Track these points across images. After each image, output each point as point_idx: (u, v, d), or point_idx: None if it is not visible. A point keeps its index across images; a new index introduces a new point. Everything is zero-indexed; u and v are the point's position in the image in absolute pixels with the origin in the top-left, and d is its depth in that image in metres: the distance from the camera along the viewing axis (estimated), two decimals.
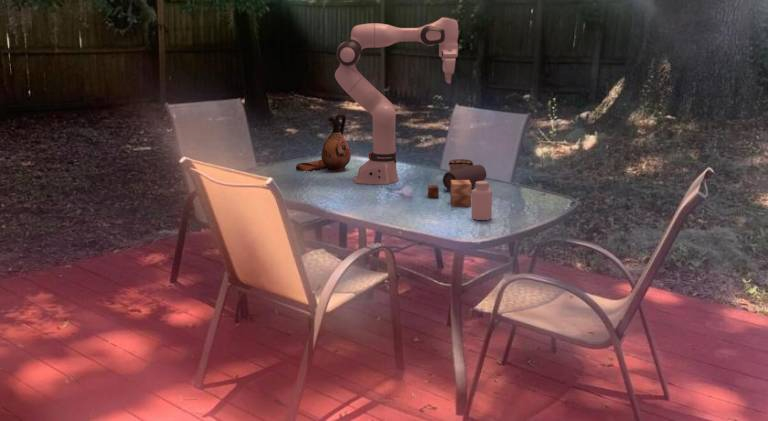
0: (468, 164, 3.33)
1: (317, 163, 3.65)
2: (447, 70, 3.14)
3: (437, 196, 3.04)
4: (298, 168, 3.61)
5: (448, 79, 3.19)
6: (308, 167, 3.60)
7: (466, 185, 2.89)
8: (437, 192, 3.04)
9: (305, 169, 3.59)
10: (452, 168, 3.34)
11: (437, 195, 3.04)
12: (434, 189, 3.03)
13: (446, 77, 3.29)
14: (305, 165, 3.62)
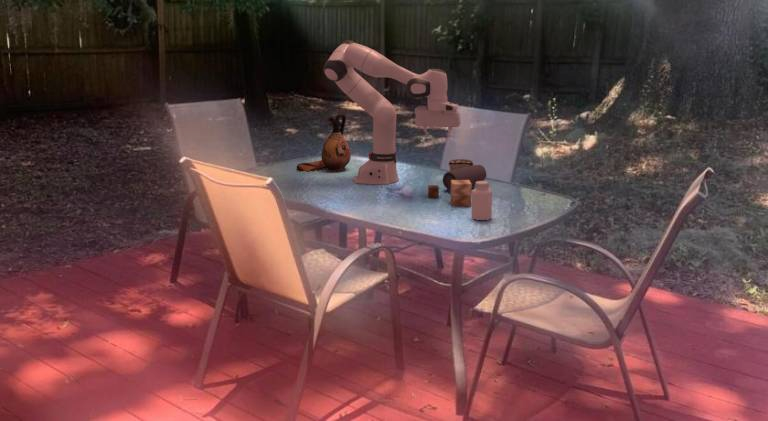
0: (468, 164, 3.33)
1: (318, 163, 3.64)
2: (459, 123, 3.01)
3: (437, 196, 3.04)
4: (299, 168, 3.60)
5: (449, 132, 3.04)
6: (308, 168, 3.59)
7: (466, 185, 2.89)
8: (437, 192, 3.04)
9: (305, 169, 3.58)
10: (452, 168, 3.34)
11: (437, 195, 3.04)
12: (434, 189, 3.03)
13: (426, 132, 3.07)
14: (306, 165, 3.61)
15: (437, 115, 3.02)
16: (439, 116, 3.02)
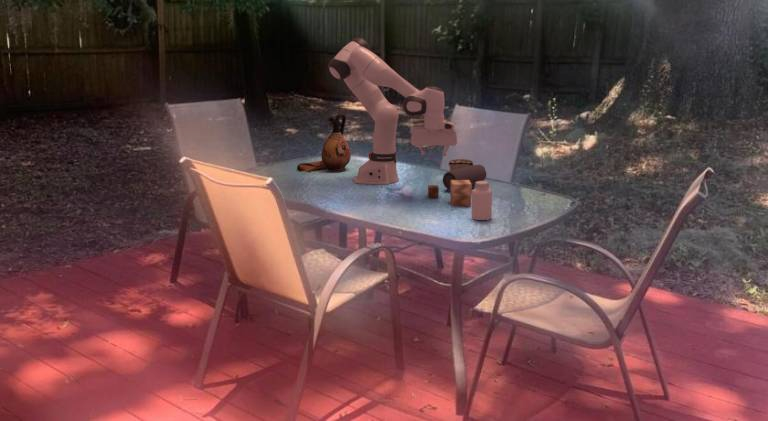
0: (468, 164, 3.33)
1: (318, 163, 3.64)
2: (456, 141, 2.98)
3: (437, 196, 3.04)
4: (299, 168, 3.60)
5: (446, 151, 3.01)
6: (308, 168, 3.59)
7: (466, 185, 2.89)
8: (437, 192, 3.04)
9: (306, 169, 3.58)
10: (452, 168, 3.34)
11: (437, 195, 3.04)
12: (434, 189, 3.03)
13: (422, 151, 3.01)
14: (306, 165, 3.61)
15: (435, 134, 2.97)
16: (437, 134, 2.97)
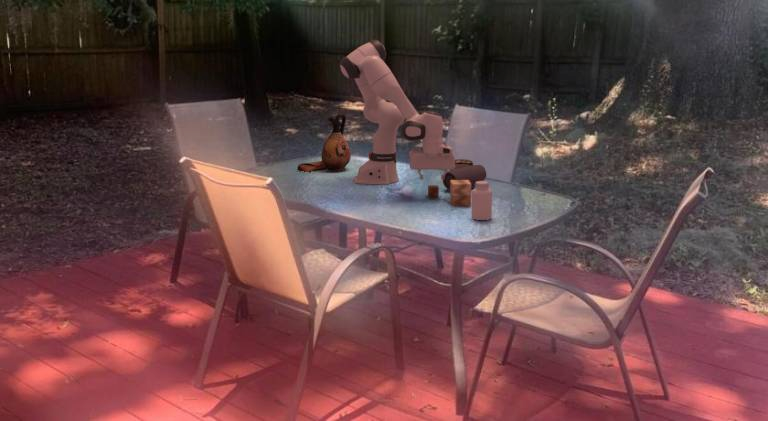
0: (468, 164, 3.33)
1: (319, 164, 3.63)
2: None
3: (437, 196, 3.04)
4: (299, 168, 3.60)
5: None
6: (309, 168, 3.59)
7: (466, 185, 2.89)
8: (437, 192, 3.04)
9: (306, 169, 3.57)
10: None
11: (437, 195, 3.04)
12: (434, 189, 3.03)
13: (421, 175, 3.03)
14: (306, 165, 3.60)
15: (433, 158, 3.00)
16: (435, 159, 3.00)
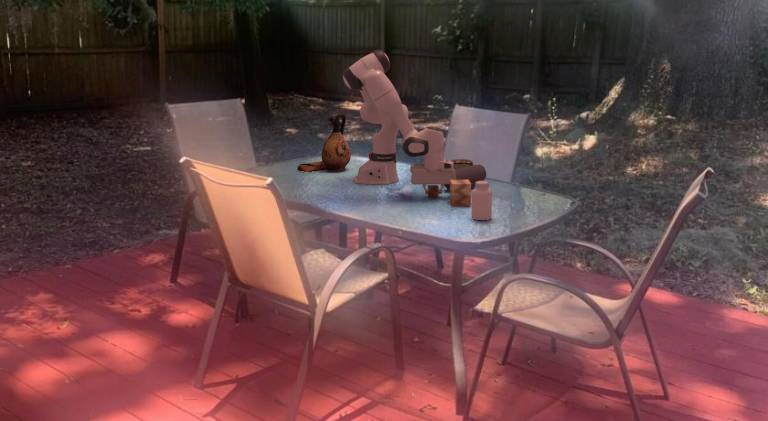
0: (468, 164, 3.33)
1: (319, 164, 3.63)
2: None
3: (437, 196, 3.04)
4: (299, 169, 3.60)
5: None
6: (309, 168, 3.59)
7: (466, 185, 2.89)
8: (437, 192, 3.04)
9: (306, 170, 3.57)
10: None
11: (437, 195, 3.04)
12: (434, 189, 3.03)
13: (426, 189, 3.05)
14: (306, 166, 3.60)
15: (434, 173, 3.02)
16: (436, 174, 3.02)
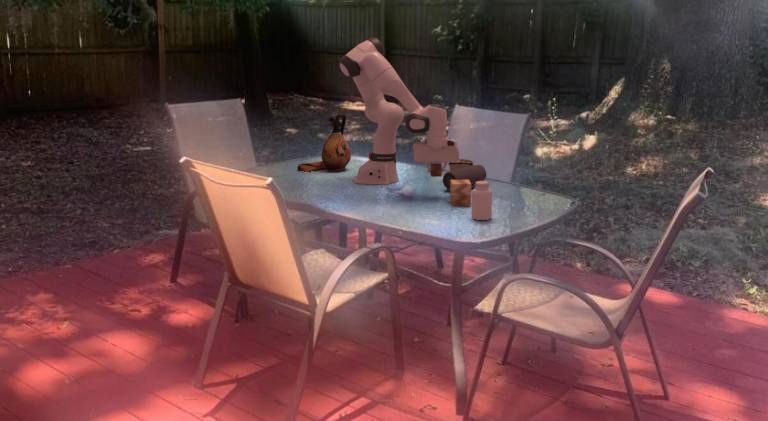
0: (468, 164, 3.33)
1: (319, 164, 3.63)
2: None
3: (440, 174, 3.02)
4: (299, 168, 3.60)
5: None
6: (309, 168, 3.59)
7: (466, 185, 2.89)
8: (440, 170, 3.02)
9: (306, 170, 3.57)
10: (452, 168, 3.34)
11: (440, 173, 3.02)
12: (437, 167, 3.02)
13: None
14: (306, 166, 3.60)
15: (437, 151, 3.00)
16: (439, 151, 3.00)
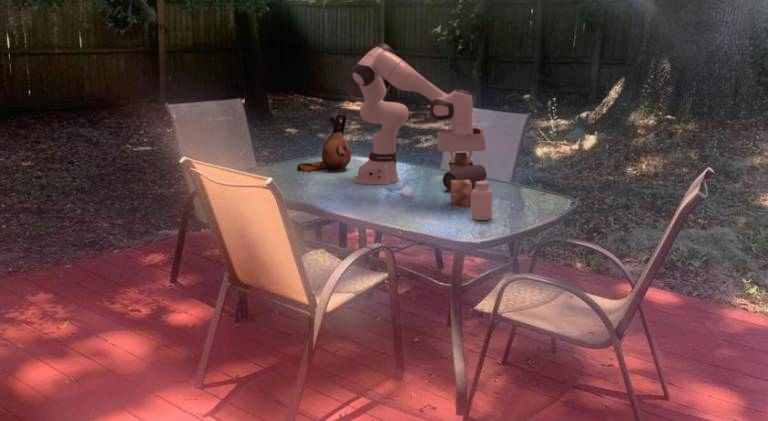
0: (468, 164, 3.33)
1: (318, 164, 3.63)
2: None
3: (465, 164, 2.88)
4: (299, 168, 3.60)
5: None
6: (308, 168, 3.59)
7: (466, 185, 2.89)
8: (465, 159, 2.87)
9: (305, 170, 3.58)
10: (452, 168, 3.34)
11: (465, 162, 2.88)
12: (462, 156, 2.87)
13: (453, 157, 2.89)
14: (306, 166, 3.61)
15: (462, 139, 2.85)
16: (464, 140, 2.86)
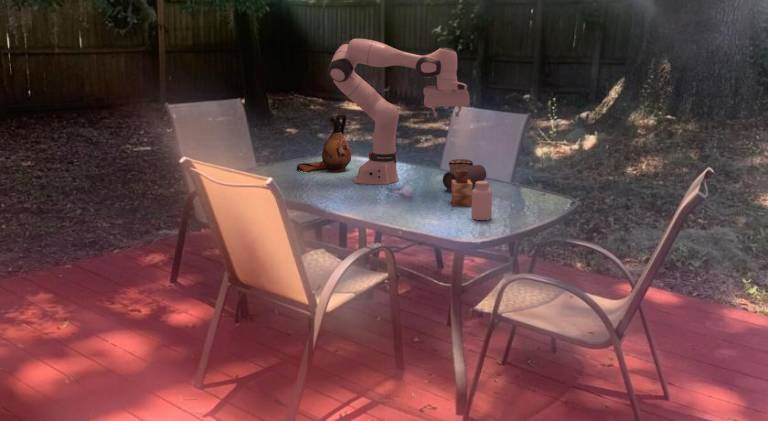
0: (468, 164, 3.33)
1: (318, 164, 3.63)
2: (469, 102, 3.02)
3: (466, 180, 2.90)
4: (298, 168, 3.60)
5: None
6: (307, 168, 3.59)
7: (467, 185, 2.89)
8: (466, 176, 2.90)
9: (304, 169, 3.58)
10: (452, 168, 3.34)
11: (466, 179, 2.90)
12: (463, 173, 2.89)
13: (435, 112, 3.04)
14: (305, 165, 3.61)
15: (447, 95, 3.00)
16: (449, 95, 3.01)
